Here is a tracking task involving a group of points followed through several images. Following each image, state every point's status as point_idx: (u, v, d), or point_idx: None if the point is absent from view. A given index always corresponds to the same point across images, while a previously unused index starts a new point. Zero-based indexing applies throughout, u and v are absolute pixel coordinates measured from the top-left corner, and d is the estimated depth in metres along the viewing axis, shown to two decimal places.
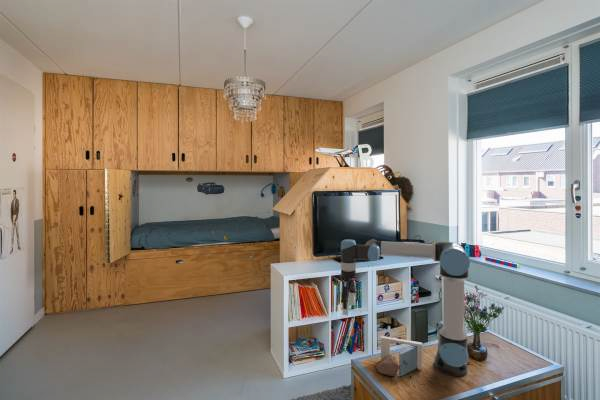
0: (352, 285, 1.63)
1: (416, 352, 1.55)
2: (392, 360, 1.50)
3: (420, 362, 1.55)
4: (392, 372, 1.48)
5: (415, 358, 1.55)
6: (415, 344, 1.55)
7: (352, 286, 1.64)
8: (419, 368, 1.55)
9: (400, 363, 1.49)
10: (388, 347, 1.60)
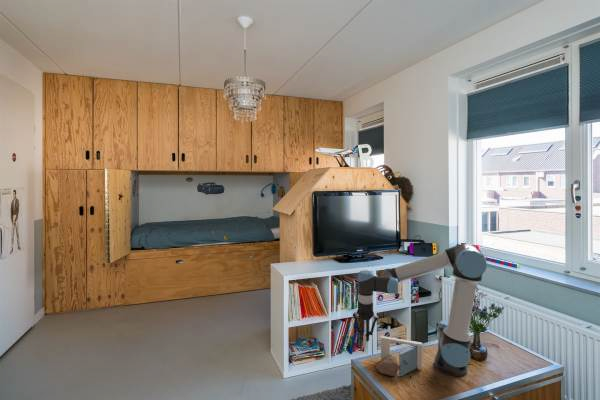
0: (366, 321, 1.55)
1: (416, 352, 1.55)
2: (392, 360, 1.51)
3: (420, 362, 1.55)
4: (392, 372, 1.48)
5: (415, 358, 1.55)
6: (415, 344, 1.55)
7: (366, 323, 1.56)
8: (419, 368, 1.55)
9: (400, 363, 1.49)
10: (388, 347, 1.60)
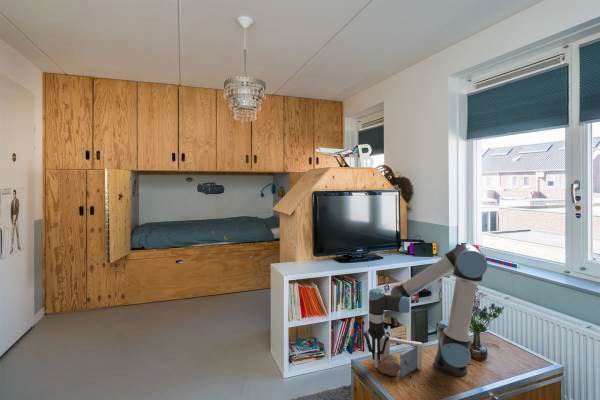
0: (377, 340, 1.54)
1: (416, 352, 1.55)
2: (393, 360, 1.50)
3: (420, 362, 1.55)
4: (393, 372, 1.48)
5: (415, 358, 1.55)
6: (415, 344, 1.55)
7: (377, 343, 1.54)
8: (419, 368, 1.55)
9: (401, 364, 1.49)
10: (388, 347, 1.60)
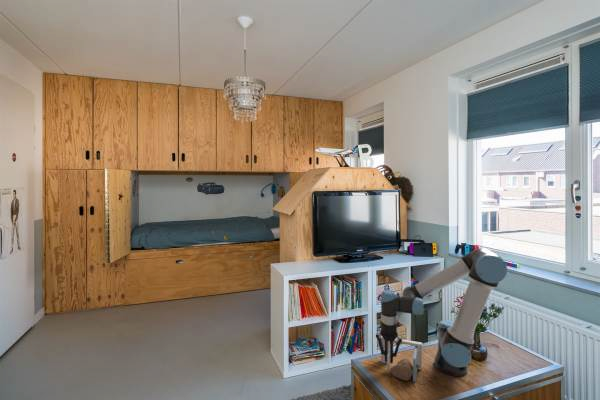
0: (390, 342, 1.52)
1: (417, 352, 1.55)
2: (406, 364, 1.46)
3: (420, 362, 1.55)
4: (404, 376, 1.44)
5: (417, 358, 1.55)
6: (415, 344, 1.55)
7: (390, 345, 1.52)
8: (419, 368, 1.55)
9: (414, 368, 1.45)
10: (388, 347, 1.60)
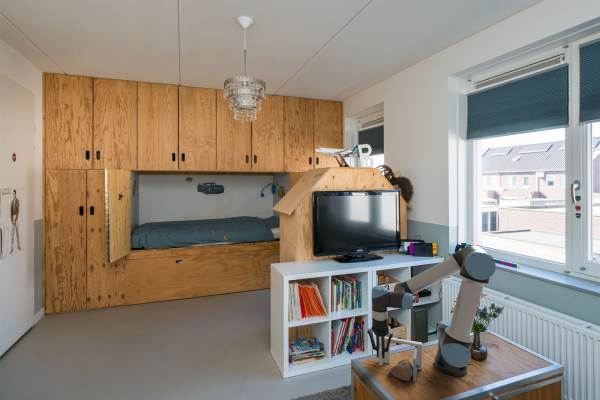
0: (381, 338, 1.53)
1: (417, 352, 1.55)
2: (406, 365, 1.46)
3: (420, 362, 1.55)
4: (404, 377, 1.44)
5: (417, 358, 1.55)
6: (415, 344, 1.55)
7: (382, 340, 1.53)
8: (419, 368, 1.55)
9: (414, 368, 1.45)
10: None
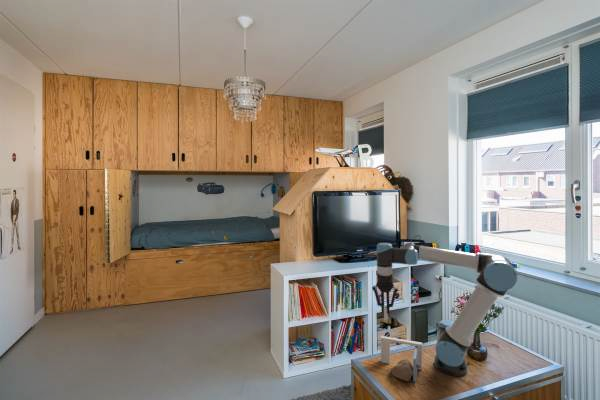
0: (386, 293, 1.55)
1: (417, 352, 1.55)
2: (406, 365, 1.46)
3: (420, 362, 1.55)
4: (405, 377, 1.44)
5: (417, 358, 1.55)
6: (415, 344, 1.55)
7: (387, 295, 1.55)
8: (419, 368, 1.55)
9: (414, 368, 1.45)
10: (388, 347, 1.60)
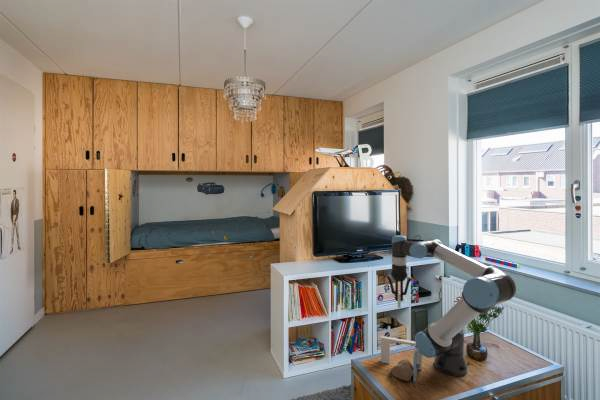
0: (400, 282, 1.66)
1: (417, 352, 1.55)
2: (406, 365, 1.46)
3: (420, 362, 1.55)
4: (405, 377, 1.44)
5: (417, 358, 1.55)
6: (415, 344, 1.55)
7: (400, 284, 1.67)
8: (419, 368, 1.55)
9: (415, 368, 1.45)
10: (388, 347, 1.60)
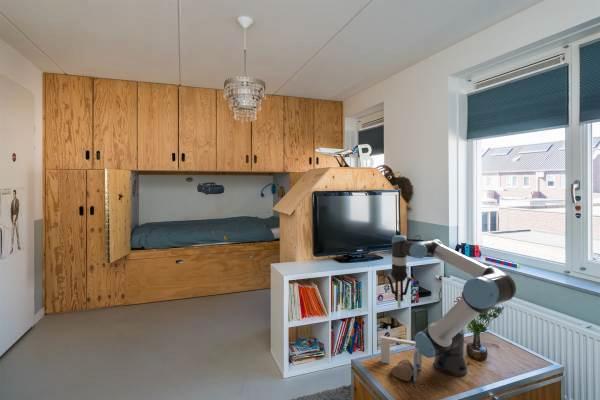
0: (400, 282, 1.66)
1: (417, 352, 1.55)
2: (406, 365, 1.46)
3: (420, 362, 1.55)
4: (405, 377, 1.44)
5: (417, 358, 1.55)
6: (415, 344, 1.55)
7: (400, 284, 1.67)
8: (419, 368, 1.55)
9: (415, 368, 1.45)
10: (388, 347, 1.60)
